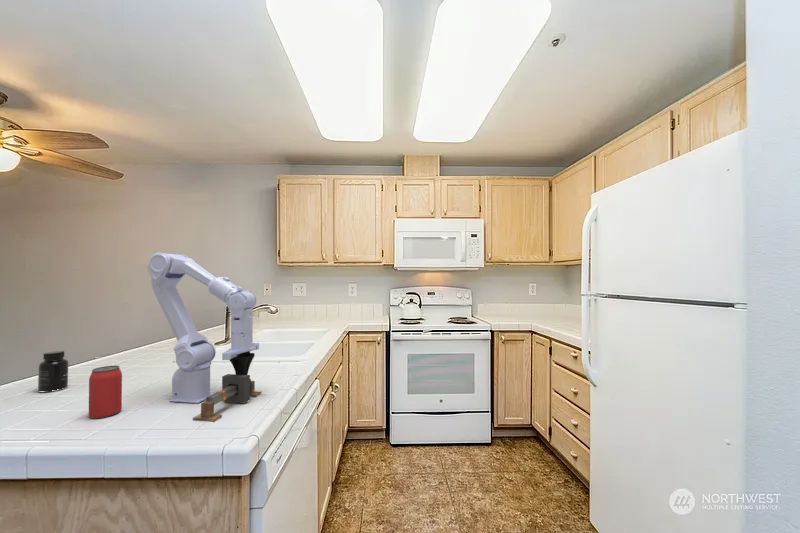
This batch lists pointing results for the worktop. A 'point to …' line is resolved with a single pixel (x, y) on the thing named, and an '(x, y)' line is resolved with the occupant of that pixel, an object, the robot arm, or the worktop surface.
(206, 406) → the square bar stand
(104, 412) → the beer can
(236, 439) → the worktop surface
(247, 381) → the collar
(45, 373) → the supplement bottle
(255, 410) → the worktop surface
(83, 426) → the worktop surface
